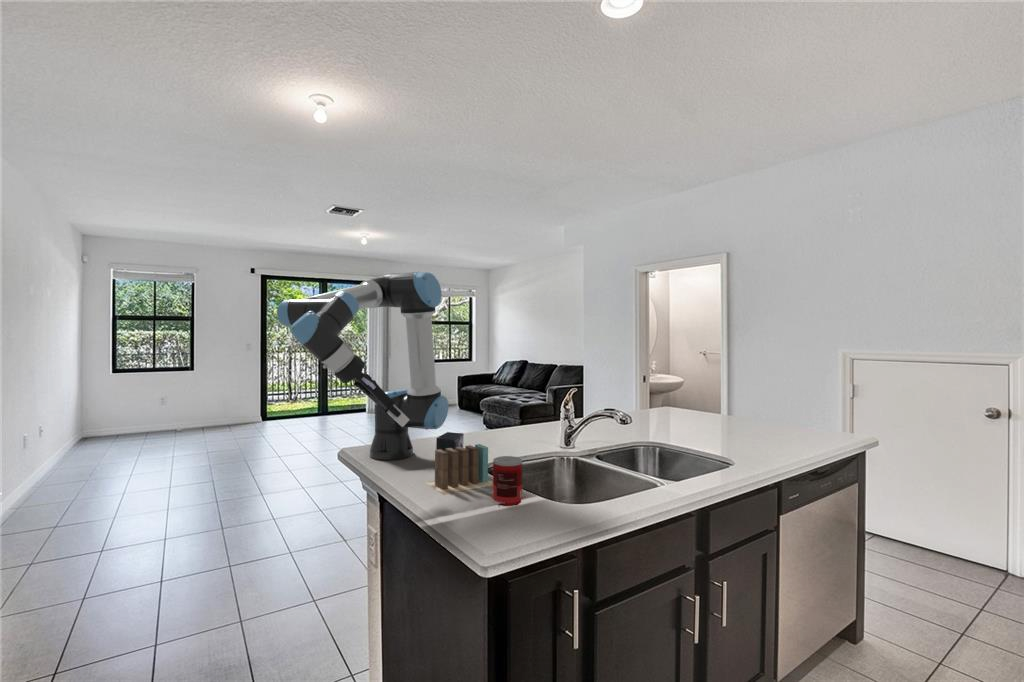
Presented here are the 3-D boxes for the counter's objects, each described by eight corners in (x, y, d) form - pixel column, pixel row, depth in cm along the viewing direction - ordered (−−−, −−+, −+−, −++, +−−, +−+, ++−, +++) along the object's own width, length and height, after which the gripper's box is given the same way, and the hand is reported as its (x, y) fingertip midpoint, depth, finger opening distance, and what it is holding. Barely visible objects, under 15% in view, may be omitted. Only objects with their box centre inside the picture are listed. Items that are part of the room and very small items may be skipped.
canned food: (511, 494, 134) (511, 454, 134) (528, 503, 127) (528, 461, 127) (487, 499, 130) (487, 458, 130) (502, 508, 123) (503, 465, 123)
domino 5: (474, 478, 145) (474, 444, 145) (479, 477, 146) (479, 444, 146) (483, 482, 141) (483, 448, 141) (487, 481, 142) (488, 447, 142)
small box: (454, 472, 155) (454, 439, 155) (434, 470, 157) (435, 438, 157) (464, 463, 166) (464, 432, 166) (445, 462, 167) (446, 431, 167)
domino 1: (434, 485, 138) (435, 449, 138) (440, 484, 139) (440, 449, 139) (442, 490, 134) (442, 453, 134) (447, 489, 135) (448, 452, 135)
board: (425, 486, 140) (425, 482, 140) (477, 477, 150) (477, 473, 150) (443, 498, 130) (443, 494, 130) (498, 487, 140) (498, 484, 140)
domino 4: (465, 479, 144) (465, 445, 143) (469, 479, 144) (470, 445, 144) (473, 484, 139) (473, 449, 139) (478, 483, 140) (478, 448, 140)
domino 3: (455, 481, 142) (455, 447, 142) (460, 480, 143) (460, 446, 142) (463, 486, 138) (463, 450, 137) (468, 485, 138) (468, 450, 138)
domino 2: (445, 483, 140) (445, 448, 140) (450, 482, 141) (450, 447, 141) (453, 488, 136) (453, 452, 136) (458, 487, 137) (458, 451, 137)
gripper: (327, 372, 130) (388, 429, 139) (339, 375, 119) (404, 437, 128) (348, 352, 133) (406, 409, 142) (362, 353, 122) (423, 415, 131)
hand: (405, 422), depth 135 cm, fingers closed
